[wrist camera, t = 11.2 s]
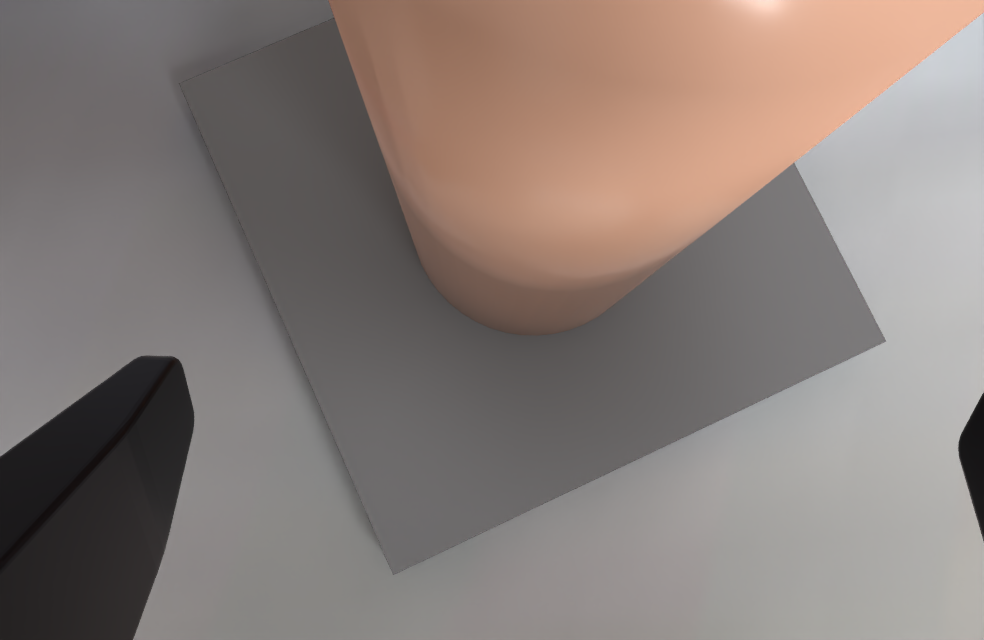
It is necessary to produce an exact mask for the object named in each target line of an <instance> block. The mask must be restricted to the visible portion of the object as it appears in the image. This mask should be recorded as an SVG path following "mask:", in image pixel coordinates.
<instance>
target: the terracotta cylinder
mask: <svg viewBox="0 0 984 640" xmlns="http://www.w3.org/2000/svg"><path fill="white" fill-rule="evenodd" d="M328 1H329V4H330V6H331V9H332V12H333V15H334V18H335V21H336V24H337V26H338V29H339V32H340V35H341V38H342V41H343V44H344V46H345V49H346V52H347V55H348V58H349V61H350V64H351V66H352V69H353V72H354V75H355V78H356V81H357V84H358V86H359V89H360V92H361V95H362V98H363V101H364V104H365V106H366V109H367V112H368V115H369V118H370V121H371V124H372V126H373V129H374V132H375V135H376V138H377V141H378V144H379V146H380V149H381V152H382V155H383V158H384V161H385V164H386V166H387V169H388V172H389V175H390V178H391V181H392V184H393V186H394V189H395V192H396V195H397V198H398V201H399V204H400V206H401V209H402V212H403V215H404V218H405V221H406V224H407V226H408V229H409V232H410V235H411V238H412V241H413V244H414V246H415V249H416V252H417V255H418V257H419V260H420V262H421V265H422V267H423V269H424V271H425V272H426V274H427V276H428V278H429V279H430V281H431V282H432V284H433V285H434V286H435V288H436V289H437V290H438V292H439V293H440V294H441V295H442V296H443V297H444V298H445V299H446V300H447V301H448V302H449V303H450V304H451V305H452V306H453V307H455V308H456V309H457V310H458V311H460V312H461V313H462V314H464V315H466V316H467V317H469V318H470V319H472V320H474V321H475V322H478V323H480V324H482V325H484V326H487V327H489V328H492V329H495V330H498V331H502V332H505V333H511V334H517V335H533V336H539V335H548V334H556V333H560V332H564V331H568V330H571V329H574V328H576V327H579V326H582V325H584V324H586V323H588V322H590V321H592V320H593V319H595V318H597V317H599V316H600V315H601V314H603V313H604V312H606V311H607V310H608V309H610V308H611V307H612V306H614V305H615V304H616V303H617V302H619V301H620V300H621V299H622V298H624V297H625V296H626V295H627V294H629V293H630V292H631V291H632V290H634V289H635V288H636V287H638V286H639V285H640V284H641V283H643V282H644V281H645V280H646V279H648V278H649V277H650V276H651V275H653V274H654V273H655V272H656V271H658V270H659V269H660V268H662V267H663V266H664V265H665V264H667V263H668V262H669V261H670V260H672V259H673V258H674V257H675V256H677V255H678V254H679V253H680V252H682V251H683V250H684V249H686V248H687V247H688V246H689V245H691V244H692V243H693V242H694V241H696V240H697V239H698V238H699V237H701V236H702V235H703V234H704V233H706V232H707V231H708V230H710V229H711V228H712V227H713V226H715V225H716V224H717V223H718V222H720V221H721V220H722V219H723V218H725V217H726V216H727V215H728V214H730V213H731V212H732V211H734V210H735V209H736V208H737V207H739V206H740V205H741V204H742V203H744V202H745V201H746V200H747V199H749V198H750V197H751V196H752V195H754V194H755V193H756V192H758V191H759V190H760V189H761V188H763V187H764V186H765V185H766V184H768V183H769V182H770V181H771V180H773V179H774V178H775V177H776V176H778V175H779V174H780V173H782V172H783V171H784V170H785V169H787V168H788V167H789V166H790V165H792V164H793V163H794V162H795V161H797V160H798V159H799V158H800V157H802V156H803V155H804V154H806V153H807V152H808V151H809V150H811V149H812V148H813V147H814V146H816V145H817V144H818V143H819V142H821V141H822V140H823V139H824V138H826V137H827V136H828V135H830V134H831V133H832V132H833V131H835V130H836V129H837V128H838V127H840V126H841V125H842V124H843V123H845V122H846V121H847V120H848V119H850V118H851V117H852V116H854V115H855V114H856V113H857V112H859V111H860V110H861V109H862V108H864V107H865V106H866V105H867V104H869V103H870V102H871V101H872V100H874V99H875V98H876V97H878V96H879V95H880V94H881V93H883V92H884V91H885V90H886V89H888V88H889V87H890V86H891V85H893V84H894V83H895V82H896V81H898V80H899V79H900V78H902V77H903V76H904V75H905V74H907V73H908V72H909V71H910V70H912V69H913V68H914V67H915V66H917V65H918V64H919V63H920V62H922V61H923V60H924V59H926V58H927V57H928V56H929V55H931V54H932V53H933V52H934V51H936V50H937V49H938V48H939V47H941V46H942V45H943V44H944V43H946V42H947V41H948V40H950V39H951V38H952V37H953V36H955V35H956V34H957V33H958V32H960V31H961V30H962V29H963V28H965V27H966V26H967V25H968V24H970V23H971V22H972V21H974V20H975V19H976V18H977V17H979V16H980V15H981V14H982V13H984V0H328Z"/></svg>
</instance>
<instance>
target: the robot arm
mask: <svg viewBox="0 0 984 640" xmlns="http://www.w3.org/2000/svg"><path fill="white" fill-rule="evenodd" d="M193 428H194V410H193V406H192V402H191V398H190V394H189V390H188V386H187V382H186V378H185V374H184V370H183V367H182V364H181V363H180V361H179V360H178V359H177V358H175V357H172V356H140V357H138V358H136V359H134V360H133V361H131V362H130V363H129V364H127V365H126V366H124V367H123V368H122V369H120V370H119V371H118V372H116V373H115V374H113V375H112V376H111V377H109V378H108V379H106V380H105V381H104V382H102V383H101V384H100V385H98V386H97V387H95V388H94V389H93V390H91V391H90V392H89V393H87V394H86V395H84V396H83V397H82V398H80V399H79V400H78V401H76V402H75V403H73V404H72V405H71V406H69V407H68V408H67V409H65V410H64V411H62V412H61V413H60V414H58V415H57V416H56V417H54V418H53V419H51V420H50V421H49V422H47V423H46V424H45V425H43V426H42V427H40V428H39V429H38V430H36V431H35V432H33V433H32V434H31V435H29V436H28V437H27V438H25V439H24V440H22V441H21V442H20V443H18V444H17V445H16V446H14V447H13V448H11V449H10V450H9V451H7V452H6V453H5V454H3V455H2V456H0V640H133V638H134V636H135V633H136V630H137V627H138V625H139V622H140V619H141V616H142V614H143V611H144V608H145V605H146V603H147V600H148V597H149V594H150V592H151V589H152V586H153V583H154V581H155V578H156V575H157V572H158V569H159V566H160V563H161V560H162V557H163V554H164V551H165V548H166V544H167V540H168V536H169V532H170V528H171V524H172V519H173V515H174V511H175V507H176V502H177V498H178V494H179V489H180V485H181V481H182V477H183V472H184V468H185V464H186V459H187V455H188V451H189V447H190V442H191V438H192V434H193ZM958 451H959V458H960V462H961V465H962V469H963V472H964V476H965V479H966V482H967V486H968V489H969V493H970V496H971V499H972V503H973V506H974V510H975V513H976V517H977V520H978V523H979V527H980V530H981V534H982V537H983V541H984V393H983V394H982V396H981V398H980V400H979V402H978V404H977V405H976V407H975V409H974V411H973V413H972V415H971V417H970V419H969V420H968V422H967V424H966V426H965V428H964V430H963V432H962V434H961V436H960V440H959V447H958Z"/></svg>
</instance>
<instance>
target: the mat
mask: <svg viewBox="0 0 984 640" xmlns="http://www.w3.org/2000/svg"><path fill="white" fill-rule="evenodd" d="M179 85H180V87H181V89H182V91H183V94H184V96H185V98H186V101H187V103H188V105H189V108H190V110H191V112H192V114H193V117H194V119H195V121H196V124H197V126H198V128H199V130H200V133H201V135H202V137H203V140H204V142H205V144H206V147H207V149H208V151H209V153H210V156H211V158H212V160H213V163H214V165H215V167H216V169H217V172H218V174H219V176H220V179H221V181H222V183H223V186H224V188H225V190H226V192H227V195H228V197H229V199H230V202H231V204H232V206H233V208H234V211H235V213H236V215H237V218H238V220H239V222H240V225H241V227H242V229H243V231H244V234H245V236H246V238H247V241H248V243H249V245H250V247H251V250H252V252H253V254H254V257H255V259H256V261H257V264H258V266H259V268H260V270H261V273H262V275H263V277H264V280H265V282H266V284H267V286H268V289H269V291H270V293H271V296H272V298H273V300H274V303H275V305H276V307H277V309H278V312H279V314H280V316H281V319H282V321H283V323H284V325H285V328H286V330H287V332H288V335H289V337H290V339H291V342H292V344H293V346H294V348H295V351H296V353H297V355H298V358H299V360H300V362H301V364H302V367H303V369H304V371H305V374H306V376H307V378H308V381H309V383H310V385H311V387H312V390H313V392H314V394H315V397H316V399H317V401H318V403H319V406H320V408H321V410H322V413H323V415H324V417H325V420H326V422H327V424H328V426H329V429H330V431H331V433H332V436H333V438H334V440H335V442H336V445H337V447H338V449H339V452H340V454H341V456H342V459H343V461H344V463H345V465H346V468H347V470H348V472H349V475H350V477H351V479H352V481H353V484H354V486H355V488H356V491H357V493H358V495H359V498H360V500H361V502H362V504H363V507H364V509H365V511H366V514H367V516H368V518H369V520H370V523H371V525H372V527H373V530H374V532H375V534H376V537H377V539H378V541H379V543H380V546H381V548H382V550H383V553H384V555H385V557H386V559H387V562H388V564H389V566H390V569H391V571H392V573H393V575H394V574H396V573H398V572H401V571H403V570H405V569H407V568H409V567H411V566H413V565H415V564H417V563H420V562H422V561H424V560H426V559H428V558H430V557H432V556H434V555H436V554H439V553H441V552H443V551H445V550H447V549H449V548H451V547H453V546H455V545H458V544H460V543H462V542H464V541H466V540H468V539H470V538H472V537H474V536H477V535H479V534H481V533H483V532H485V531H487V530H489V529H491V528H493V527H495V526H498V525H500V524H502V523H504V522H506V521H508V520H510V519H512V518H514V517H517V516H519V515H521V514H523V513H525V512H527V511H529V510H531V509H533V508H536V507H538V506H540V505H542V504H544V503H546V502H548V501H550V500H552V499H555V498H557V497H559V496H561V495H563V494H565V493H567V492H569V491H571V490H574V489H576V488H578V487H580V486H582V485H584V484H586V483H588V482H590V481H593V480H595V479H597V478H599V477H601V476H603V475H605V474H607V473H609V472H612V471H614V470H616V469H618V468H620V467H622V466H624V465H626V464H628V463H630V462H633V461H635V460H637V459H639V458H641V457H643V456H645V455H647V454H649V453H652V452H654V451H656V450H658V449H660V448H662V447H664V446H666V445H668V444H671V443H673V442H675V441H677V440H679V439H681V438H683V437H685V436H687V435H690V434H692V433H694V432H696V431H698V430H700V429H702V428H704V427H706V426H709V425H711V424H713V423H715V422H717V421H719V420H721V419H723V418H725V417H728V416H730V415H732V414H734V413H736V412H738V411H740V410H742V409H744V408H746V407H749V406H751V405H753V404H755V403H757V402H759V401H761V400H763V399H765V398H768V397H770V396H772V395H774V394H776V393H778V392H780V391H782V390H784V389H787V388H789V387H791V386H793V385H795V384H797V383H799V382H801V381H803V380H806V379H808V378H810V377H812V376H814V375H816V374H818V373H820V372H822V371H825V370H827V369H829V368H831V367H833V366H835V365H837V364H839V363H841V362H844V361H846V360H848V359H850V358H852V357H854V356H856V355H858V354H860V353H863V352H865V351H867V350H869V349H871V348H873V347H875V346H877V345H879V344H881V343H884V342H886V340H885V338H884V336H883V334H882V332H881V330H880V329H879V327H878V325H877V323H876V321H875V319H874V317H873V315H872V313H871V311H870V309H869V307H868V305H867V303H866V301H865V299H864V297H863V296H862V294H861V292H860V290H859V288H858V286H857V284H856V282H855V280H854V278H853V276H852V274H851V272H850V270H849V268H848V266H847V265H846V263H845V261H844V259H843V257H842V255H841V253H840V251H839V249H838V247H837V245H836V243H835V241H834V239H833V237H832V235H831V233H830V232H829V230H828V228H827V226H826V224H825V222H824V220H823V218H822V216H821V214H820V212H819V210H818V208H817V206H816V204H815V202H814V201H813V199H812V197H811V195H810V193H809V191H808V189H807V187H806V185H805V183H804V181H803V179H802V177H801V175H800V173H799V171H798V169H797V168H796V166H795V164H794V163H793V164H792V165H790V166H789V167H788V168H787V169H785V170H784V171H783V172H782V173H780V174H779V175H778V176H776V177H775V178H774V179H773V180H771V181H770V182H769V183H768V184H766V185H765V186H764V187H763V188H761V189H760V190H759V191H758V192H756V193H755V194H754V195H752V196H751V197H750V198H749V199H747V200H746V201H745V202H744V203H742V204H741V205H740V206H739V207H737V208H736V209H735V210H734V211H732V212H731V213H730V214H728V215H727V216H726V217H725V218H723V219H722V220H721V221H720V222H718V223H717V224H716V225H715V226H713V227H712V228H711V229H710V230H708V231H707V232H706V233H704V234H703V235H702V236H701V237H699V238H698V239H697V240H696V241H694V242H693V243H692V244H691V245H689V246H688V247H687V248H686V249H684V250H683V251H682V252H680V253H679V254H678V255H677V256H675V257H674V258H673V259H672V260H670V261H669V262H668V263H667V264H665V265H664V266H663V267H662V268H660V269H659V270H658V271H656V272H655V273H654V274H653V275H651V276H650V277H649V278H648V279H646V280H645V281H644V282H643V283H641V284H640V285H639V286H638V287H636V288H635V289H634V290H632V291H631V292H630V293H629V294H627V295H626V296H625V297H624V298H622V299H621V300H620V301H619V302H617V303H616V304H615V305H614V306H612V307H611V308H610V309H608V310H607V311H606V312H604V313H603V314H601V315H600V316H599V317H597V318H595V319H593V320H592V321H590V322H588V323H586V324H584V325H582V326H579V327H576V328H574V329H571V330H568V331H564V332H560V333H556V334H548V335H539V336H533V335H517V334H511V333H505V332H502V331H498V330H495V329H492V328H489V327H487V326H484V325H482V324H480V323H478V322H475V321H474V320H472V319H470V318H469V317H467V316H466V315H464V314H462V313H461V312H460V311H458V310H457V309H456V308H455V307H453V306H452V305H451V304H450V303H449V302H448V301H447V300H446V299H445V298H444V297H443V296H442V295H441V294H440V293H439V292H438V290H437V289H436V288H435V286H434V285H433V284H432V282H431V281H430V279H429V278H428V276H427V274H426V272H425V271H424V269H423V267H422V265H421V262H420V260H419V257H418V255H417V252H416V249H415V246H414V244H413V241H412V238H411V235H410V232H409V229H408V226H407V224H406V221H405V218H404V215H403V212H402V209H401V206H400V204H399V201H398V198H397V195H396V192H395V189H394V186H393V184H392V181H391V178H390V175H389V172H388V169H387V166H386V164H385V161H384V158H383V155H382V152H381V149H380V146H379V144H378V141H377V138H376V135H375V132H374V129H373V126H372V124H371V121H370V118H369V115H368V112H367V109H366V106H365V104H364V101H363V98H362V95H361V92H360V89H359V86H358V84H357V81H356V78H355V75H354V72H353V69H352V66H351V64H350V61H349V58H348V55H347V52H346V49H345V46H344V44H343V41H342V38H341V35H340V32H339V29H338V26H337V24H336V21H335V18H333V19H330V20H328V21H326V22H323V23H321V24H319V25H316V26H314V27H312V28H309V29H307V30H304V31H302V32H300V33H297V34H295V35H293V36H290V37H288V38H286V39H283V40H281V41H278V42H276V43H274V44H271V45H269V46H267V47H264V48H262V49H260V50H257V51H255V52H252V53H250V54H248V55H245V56H243V57H241V58H238V59H236V60H234V61H231V62H229V63H226V64H224V65H222V66H219V67H217V68H215V69H212V70H210V71H208V72H205V73H203V74H200V75H198V76H196V77H193V78H191V79H189V80H186V81H184V82H182V83H179Z"/></svg>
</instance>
